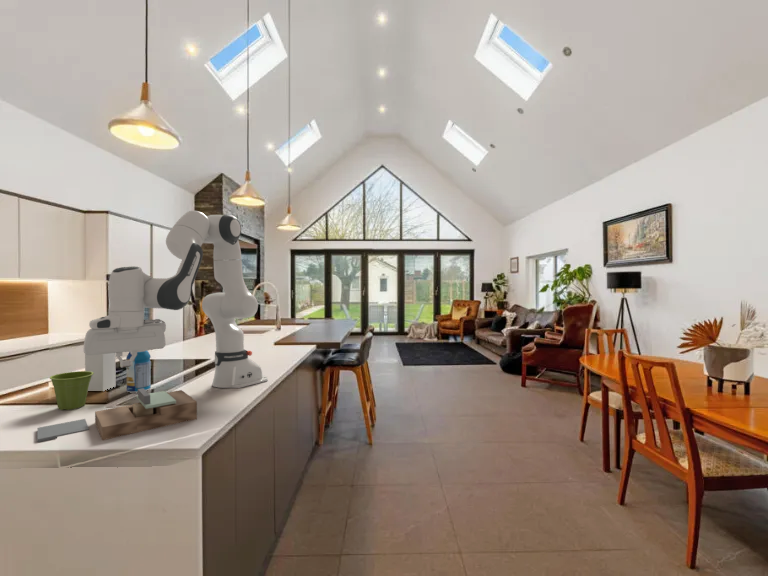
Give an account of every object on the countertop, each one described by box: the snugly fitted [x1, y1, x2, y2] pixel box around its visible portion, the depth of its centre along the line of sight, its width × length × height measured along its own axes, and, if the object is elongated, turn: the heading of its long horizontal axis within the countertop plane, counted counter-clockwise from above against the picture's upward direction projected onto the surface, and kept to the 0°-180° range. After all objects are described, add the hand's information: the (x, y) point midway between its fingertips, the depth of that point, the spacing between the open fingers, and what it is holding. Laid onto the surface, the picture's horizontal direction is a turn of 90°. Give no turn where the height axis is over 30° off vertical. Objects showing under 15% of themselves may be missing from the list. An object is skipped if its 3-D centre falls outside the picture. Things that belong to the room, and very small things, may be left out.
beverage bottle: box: [125, 350, 152, 394], centre depth 152 cm, size 8×8×20 cm
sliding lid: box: [136, 388, 176, 409], centre depth 119 cm, size 8×14×3 cm, turn 43°
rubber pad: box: [37, 418, 90, 443], centre depth 111 cm, size 11×11×1 cm
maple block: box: [132, 402, 153, 418], centre depth 117 cm, size 4×4×6 cm
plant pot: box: [48, 370, 94, 411], centre depth 132 cm, size 12×12×11 cm
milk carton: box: [84, 353, 117, 392], centre depth 153 cm, size 7×7×19 cm
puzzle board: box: [94, 389, 198, 441], centre depth 117 cm, size 24×17×6 cm
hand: (126, 366), depth 114 cm, fingers closed
